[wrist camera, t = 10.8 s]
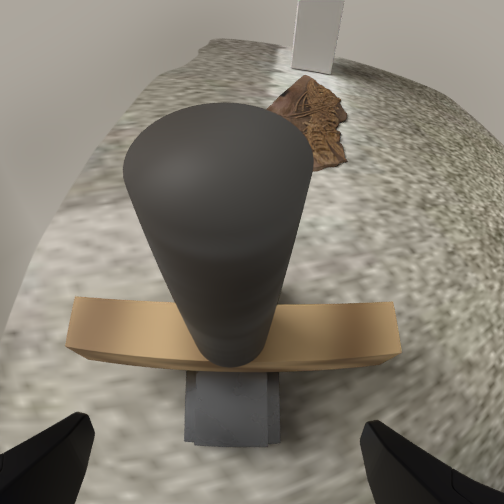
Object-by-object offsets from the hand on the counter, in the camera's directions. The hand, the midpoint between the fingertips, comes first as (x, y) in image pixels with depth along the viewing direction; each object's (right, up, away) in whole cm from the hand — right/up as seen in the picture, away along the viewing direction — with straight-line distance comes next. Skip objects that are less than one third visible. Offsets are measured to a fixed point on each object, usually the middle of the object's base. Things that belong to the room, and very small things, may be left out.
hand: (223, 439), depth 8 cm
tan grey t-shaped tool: (0, 0, +9) cm, 9 cm away
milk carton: (+12, +40, +40) cm, 58 cm away
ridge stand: (-1, -2, +13) cm, 13 cm away
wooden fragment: (+8, +24, +31) cm, 40 cm away
